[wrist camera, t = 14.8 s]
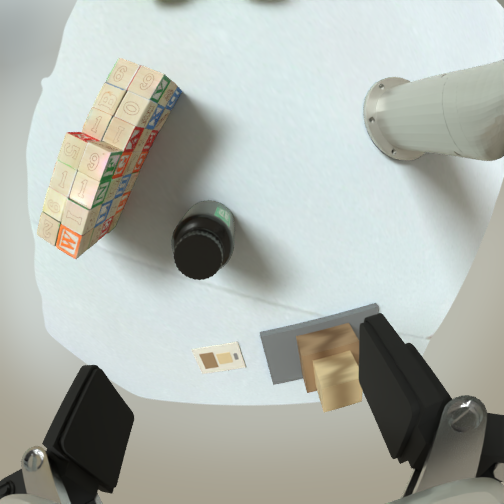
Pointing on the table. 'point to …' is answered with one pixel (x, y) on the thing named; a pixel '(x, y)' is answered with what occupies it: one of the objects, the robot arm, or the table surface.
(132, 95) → the stack of blocks
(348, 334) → the brick
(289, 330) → the board
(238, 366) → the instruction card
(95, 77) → the table surface
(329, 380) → the oak brick
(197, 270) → the supplement bottle
